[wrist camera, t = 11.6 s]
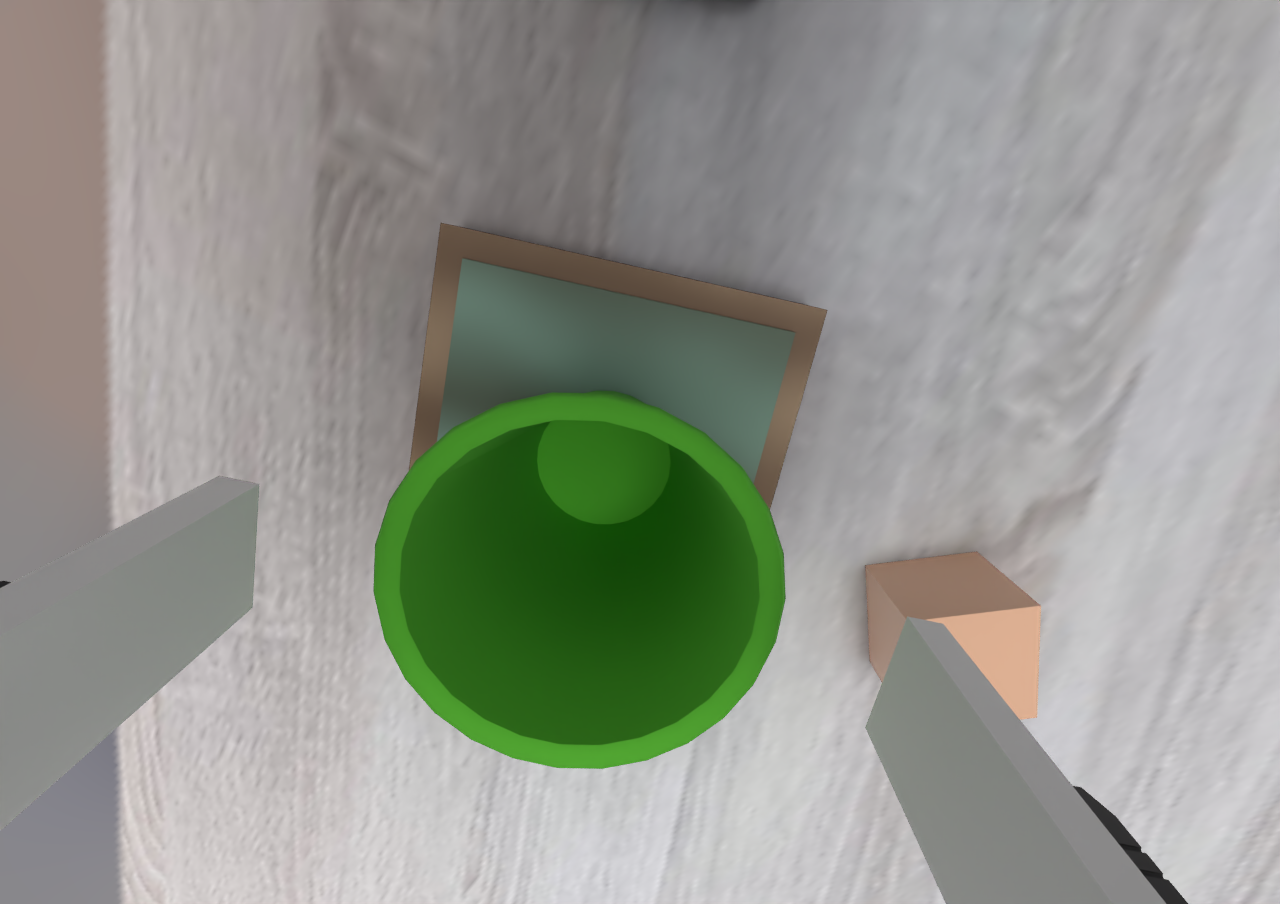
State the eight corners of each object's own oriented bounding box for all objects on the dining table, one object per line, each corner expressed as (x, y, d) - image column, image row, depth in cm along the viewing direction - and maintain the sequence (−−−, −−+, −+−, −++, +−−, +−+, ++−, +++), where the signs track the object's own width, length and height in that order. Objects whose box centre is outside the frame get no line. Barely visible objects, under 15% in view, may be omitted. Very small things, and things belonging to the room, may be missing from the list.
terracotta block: (864, 564, 30) (907, 621, 25) (975, 550, 30) (1040, 605, 25) (868, 659, 31) (910, 731, 27) (975, 647, 31) (1036, 717, 26)
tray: (462, 227, 26) (437, 222, 23) (806, 305, 27) (830, 310, 23) (418, 549, 30) (390, 585, 26) (721, 609, 30) (732, 650, 27)
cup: (613, 609, 27) (596, 836, 16) (435, 463, 25) (285, 609, 14) (775, 451, 25) (875, 590, 14) (594, 281, 23) (555, 297, 13)
